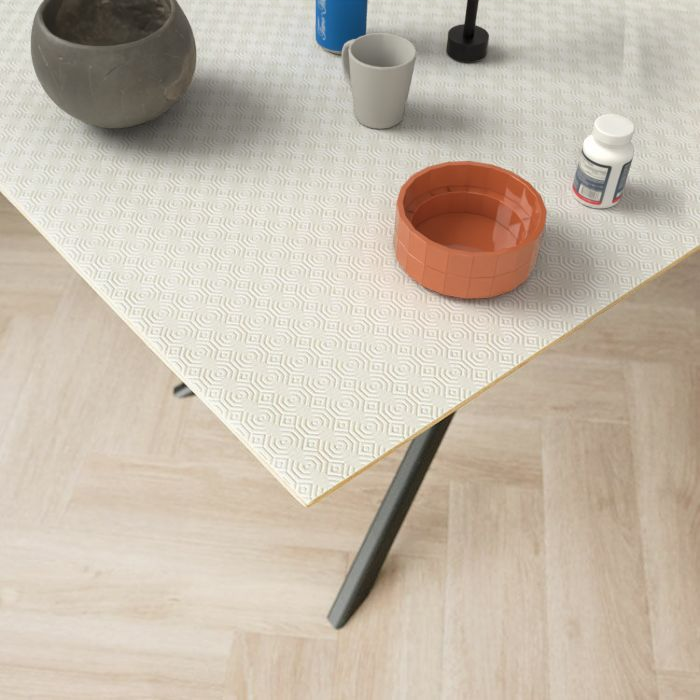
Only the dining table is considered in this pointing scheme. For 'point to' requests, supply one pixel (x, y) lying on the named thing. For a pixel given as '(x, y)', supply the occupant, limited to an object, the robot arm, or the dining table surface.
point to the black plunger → (468, 37)
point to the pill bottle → (604, 162)
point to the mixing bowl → (468, 229)
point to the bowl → (113, 58)
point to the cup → (379, 77)
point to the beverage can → (339, 22)
